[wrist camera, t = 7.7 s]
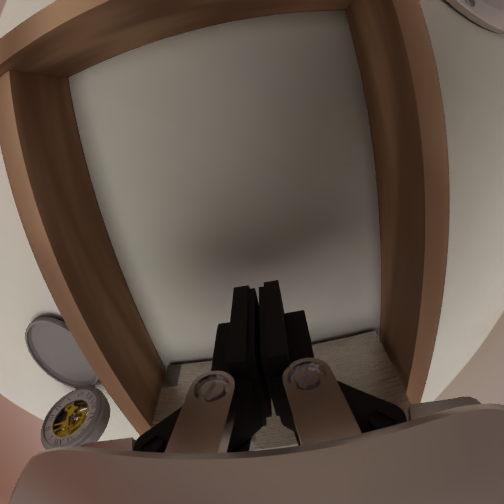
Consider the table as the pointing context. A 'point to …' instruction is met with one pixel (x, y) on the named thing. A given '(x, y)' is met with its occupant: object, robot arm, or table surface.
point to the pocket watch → (71, 374)
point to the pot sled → (332, 352)
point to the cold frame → (89, 217)
